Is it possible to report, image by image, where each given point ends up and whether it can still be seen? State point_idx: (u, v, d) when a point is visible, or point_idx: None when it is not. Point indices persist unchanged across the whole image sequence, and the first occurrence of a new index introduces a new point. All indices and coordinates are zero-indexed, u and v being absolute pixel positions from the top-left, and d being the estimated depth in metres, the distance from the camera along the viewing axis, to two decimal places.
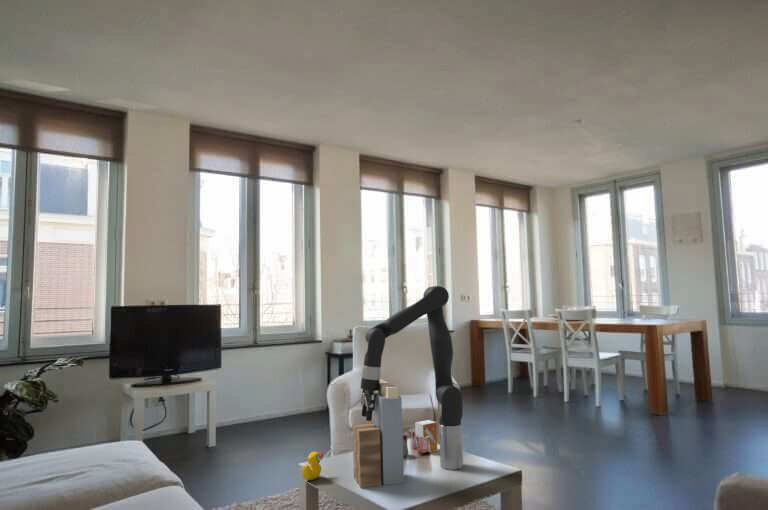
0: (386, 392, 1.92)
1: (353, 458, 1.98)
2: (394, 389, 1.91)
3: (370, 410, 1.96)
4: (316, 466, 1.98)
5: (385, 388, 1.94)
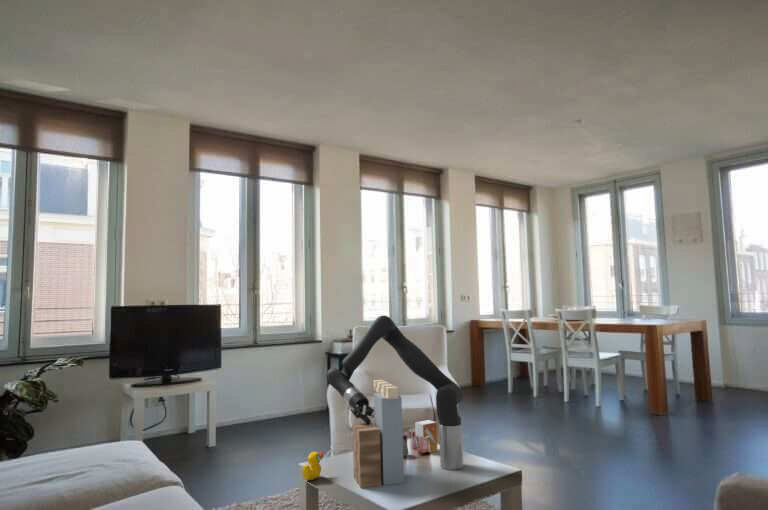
0: (386, 392, 1.92)
1: (353, 458, 1.98)
2: (394, 389, 1.91)
3: (359, 416, 2.00)
4: (316, 466, 1.98)
5: (385, 388, 1.94)
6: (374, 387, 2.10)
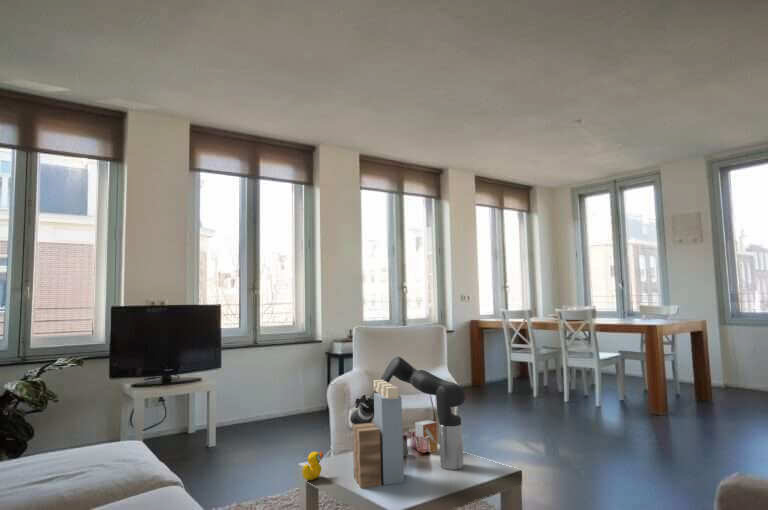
0: (386, 392, 1.92)
1: (353, 458, 1.98)
2: (394, 389, 1.91)
3: (358, 401, 2.20)
4: (316, 466, 1.98)
5: (385, 388, 1.94)
6: (374, 387, 2.10)
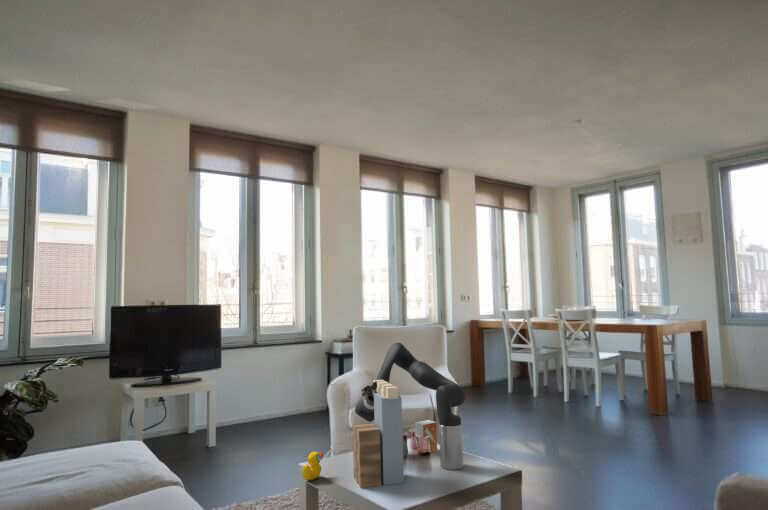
0: (386, 392, 1.92)
1: (353, 458, 1.98)
2: (394, 389, 1.91)
3: (369, 388, 2.09)
4: (316, 466, 1.98)
5: (385, 388, 1.94)
6: None
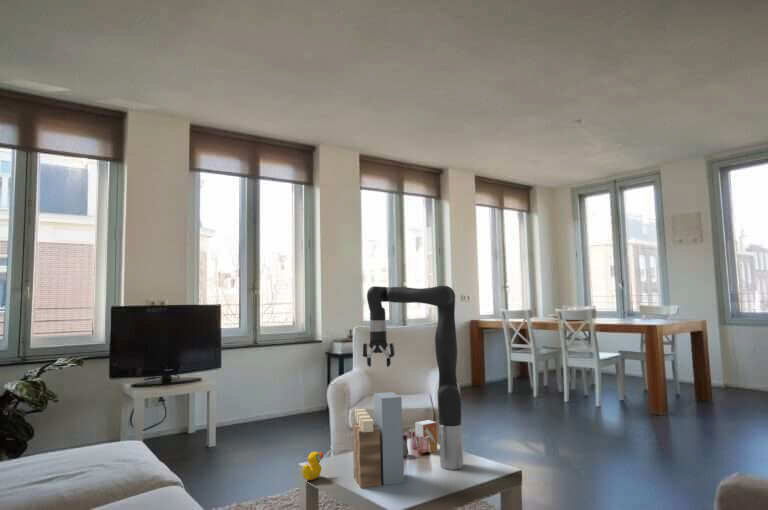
0: (361, 425, 1.89)
1: (353, 458, 1.98)
2: (369, 422, 1.88)
3: None
4: (316, 466, 1.98)
5: (361, 420, 1.90)
6: (355, 417, 2.07)
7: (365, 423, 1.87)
